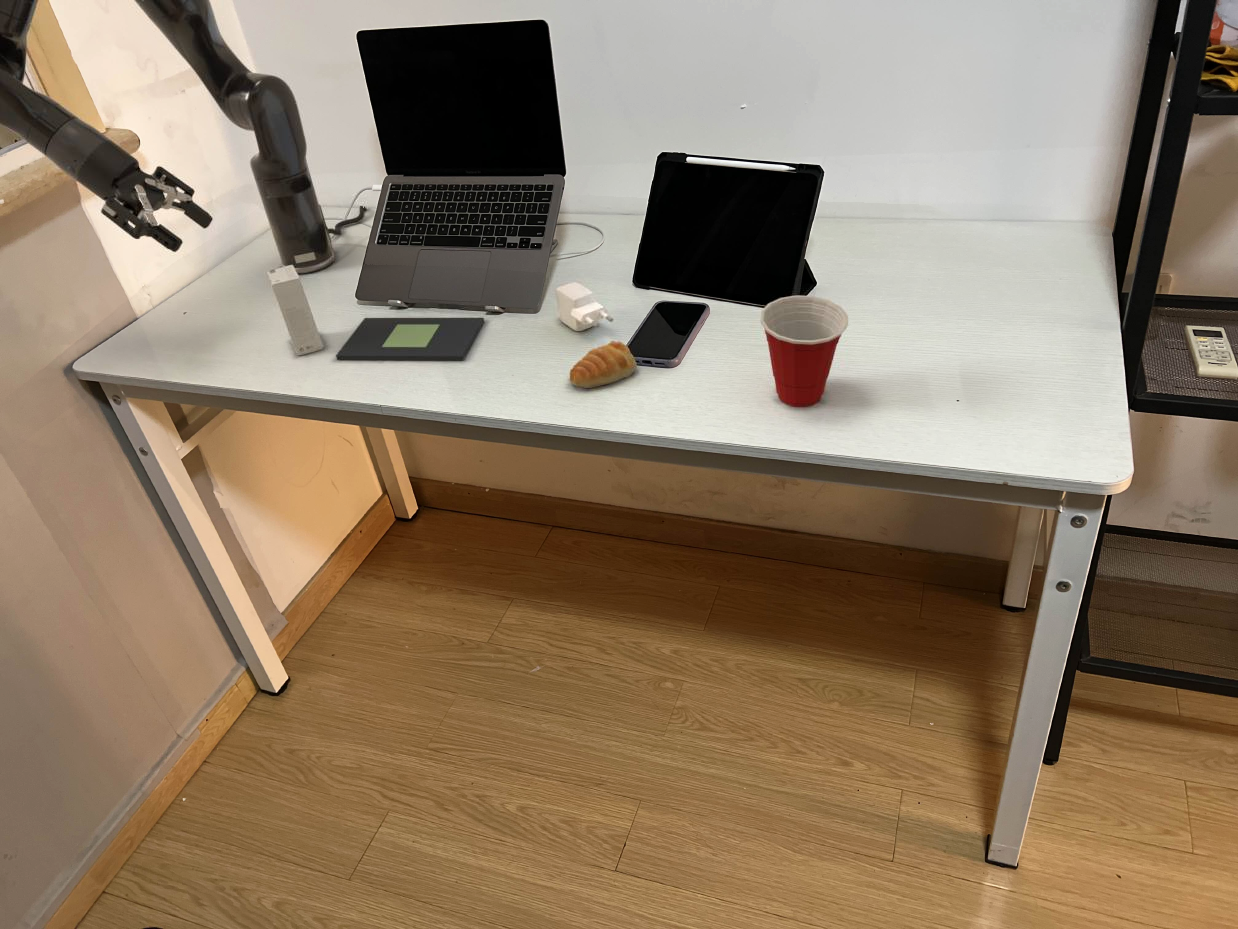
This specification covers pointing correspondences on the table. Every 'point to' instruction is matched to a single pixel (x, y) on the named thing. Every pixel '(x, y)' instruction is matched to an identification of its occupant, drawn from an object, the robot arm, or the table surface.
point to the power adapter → (579, 307)
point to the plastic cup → (802, 345)
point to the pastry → (603, 366)
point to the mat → (411, 339)
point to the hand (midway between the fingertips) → (195, 235)
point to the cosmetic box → (295, 309)
